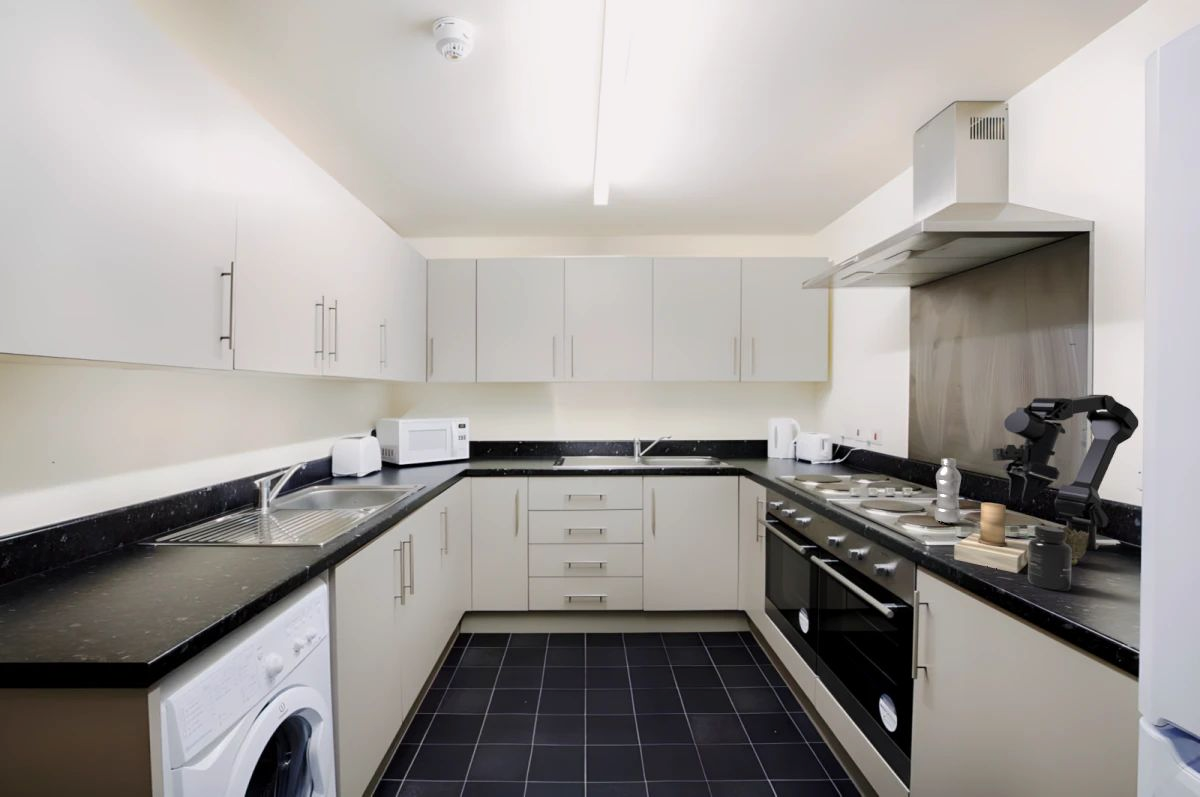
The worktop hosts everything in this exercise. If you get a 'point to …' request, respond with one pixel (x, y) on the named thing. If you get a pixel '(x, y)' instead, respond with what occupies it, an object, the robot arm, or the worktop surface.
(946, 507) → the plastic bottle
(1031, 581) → the supplement bottle
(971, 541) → the light wooden block
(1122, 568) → the worktop surface
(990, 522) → the oak peg
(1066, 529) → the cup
